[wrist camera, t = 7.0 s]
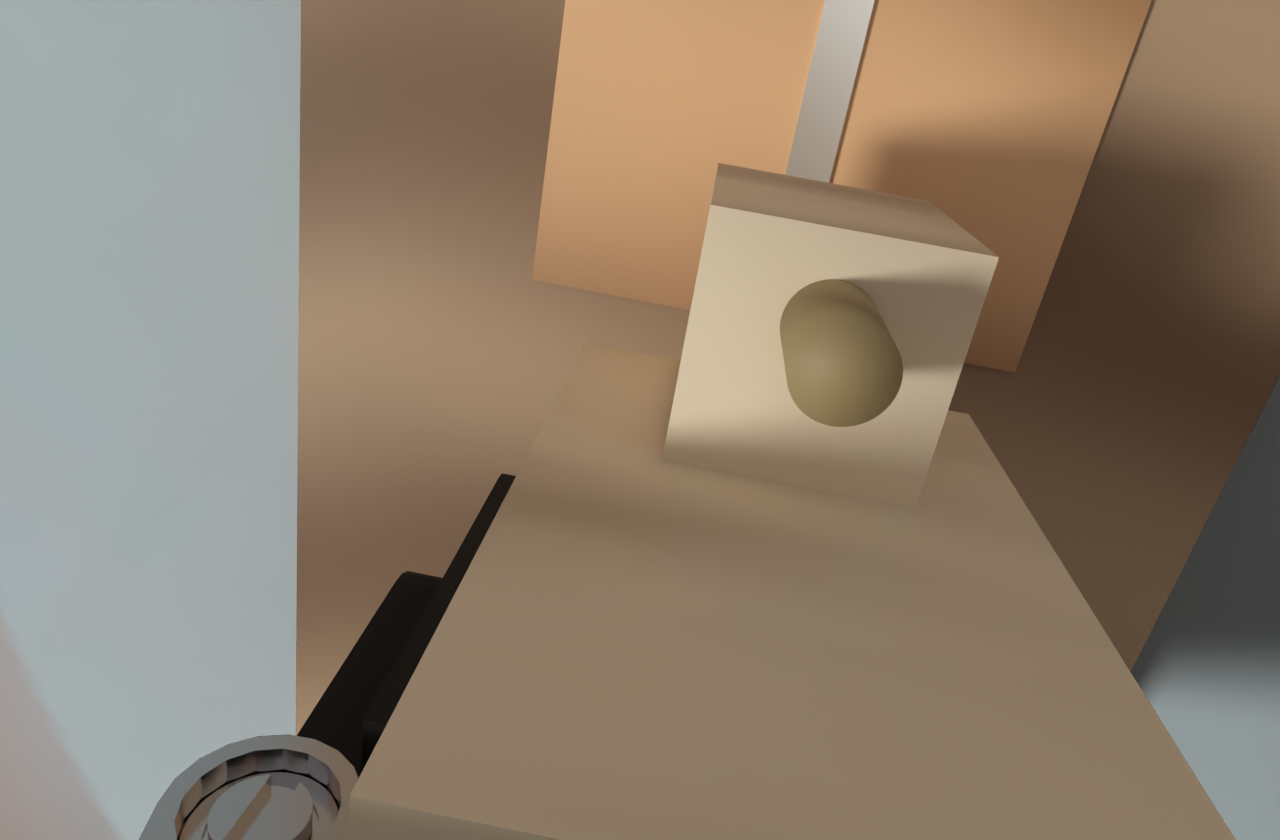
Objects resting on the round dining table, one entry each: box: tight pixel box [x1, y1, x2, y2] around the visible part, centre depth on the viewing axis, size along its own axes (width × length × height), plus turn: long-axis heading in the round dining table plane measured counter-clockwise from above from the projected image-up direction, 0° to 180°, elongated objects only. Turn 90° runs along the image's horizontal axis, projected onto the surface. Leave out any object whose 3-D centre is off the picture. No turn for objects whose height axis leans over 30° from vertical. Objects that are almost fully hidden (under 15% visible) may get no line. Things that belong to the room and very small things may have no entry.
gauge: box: [348, 163, 1235, 840], centre depth 7 cm, size 10×4×6 cm, turn 171°
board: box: [296, 0, 1280, 736], centre depth 11 cm, size 22×12×2 cm, turn 170°
